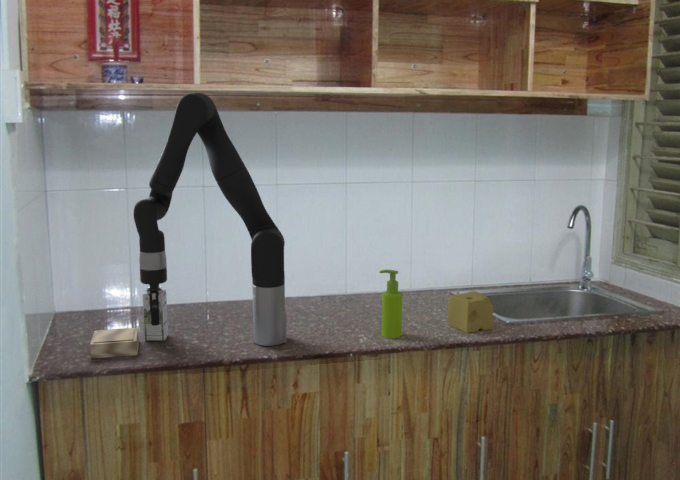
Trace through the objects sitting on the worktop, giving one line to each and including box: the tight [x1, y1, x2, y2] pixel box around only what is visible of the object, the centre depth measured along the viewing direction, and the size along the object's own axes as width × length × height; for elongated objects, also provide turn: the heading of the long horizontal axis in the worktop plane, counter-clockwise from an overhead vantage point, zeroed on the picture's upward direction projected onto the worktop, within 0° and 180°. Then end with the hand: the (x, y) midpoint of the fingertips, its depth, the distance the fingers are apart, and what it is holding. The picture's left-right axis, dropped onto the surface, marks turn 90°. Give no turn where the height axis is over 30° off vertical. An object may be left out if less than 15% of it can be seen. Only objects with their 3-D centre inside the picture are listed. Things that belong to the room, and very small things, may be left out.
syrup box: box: [142, 288, 169, 342], centre depth 197 cm, size 6×6×14 cm
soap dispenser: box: [379, 269, 403, 340], centre depth 201 cm, size 6×7×20 cm
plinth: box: [89, 327, 140, 360], centre depth 189 cm, size 12×12×4 cm
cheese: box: [447, 290, 495, 334], centre depth 210 cm, size 10×11×10 cm
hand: (155, 321), depth 197 cm, fingers closed on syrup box, 6 cm apart
